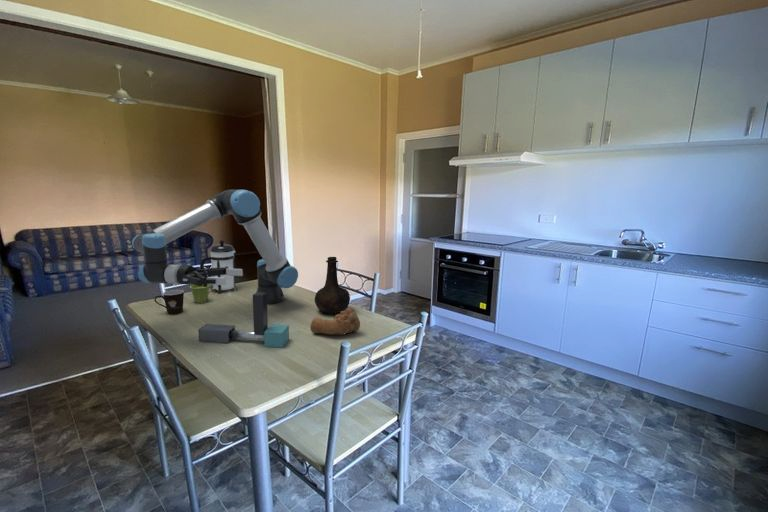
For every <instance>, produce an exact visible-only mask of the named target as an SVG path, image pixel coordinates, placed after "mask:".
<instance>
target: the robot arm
mask: <svg viewBox="0 0 768 512" xmlns="http://www.w3.org/2000/svg"><path fill="white" fill-rule="evenodd" d="M260 207H261V202H260V199H259V197H258V196H257V194H255V193H254V192H253V191H250V190H247V189H235V188H234V189H227V190H224V191H221V192H220V193H218V194H216V195H215V196H212V197H211V198H209V199H207V200H206V203H204V204H202V205H200V206H198V207H196V208H193V209H192V210H189V211H188V212H186V213H184V214H182V215H180V216H178V217H176V218H174V219H172V220H170V221H168V222H166V223H165V224H162V225H160V226H157V227H156V228H154V229H152V230H150V231H148V232H146V233H144V234H143V233H142V234H138V235H135V236H134V237H133V239H132V241H131V246H132V247H133V249H134V250H135V251H136V252H137V253H139V254H143V259H144V263H143V264H141V265H140V266H139V268H138V272H137V277H138V279H139V280H140V281H141V282H143V283H147V284H168V285H169V284H170V285H172V284H173V286H177V285H187V286H188V285H190V286H191V285H197V286H202V284H203V286H204V287H207V284H208V285H210V286H211V285H212V286H213V285H226V279H225V278H221V277H212V276H218V275H230V276H235V277H243V276H244V271H243V270H244V269H243V268H234V269H228V267H227V266H226V267H221V268H212V267H210V268H209V267H207V268H205V267H204V268H202V269H200V268H199V269H198V268H197V269H196V268H195V267H194V266H193V265H190V264H189V265H188V264H187V265H186V264H183V265H182V264H169V263H168V249H167V244H169V243H171V242H172V241H175V240H177V239H178V238H180V237H182V236H184V235H186V234H188V233H190V232H191V231H194V230H195V229H198V228H200V227H201V226H202V225H205V224H207V223H208V222H209V223H210V222H211V221H212V220H215V219H221V218H222V217H225V216H231V215H232V216H233V217H234V219H235V221H236V222H237V224H238V225H241V226H243V227H244V229H245V230H246V231H245V232H246V233H247V234H248V236H249V238H250V239H251V241H252V243H253V244H254V246H255V248H256V250H257V251H258V253H259V255H260V257H262V259H258V261H257V263H256V269H257V270H256V271H257V273H256V274H257V289H256V292H264V293H267V305H272V304H278V303H281V302H283V301H284V299H285V295H284V292H283V289H290V288H292V287H293V286H295V284H296V283H297V281H298V278H299V272H298V269H297V268H296V267H295V266H293V265H291V264H290V261H289V260H288V258H287V257H285V256H283V255H282V254H281V252H280V250H279V248H278V246H277V245H276V242H275V241H274V239H273V237H272V236H271V233H270V232H269V230H268V228H267V227H266V225H265V223H264V221H263V220H262V217H261V216H262V211H261V209H260ZM282 300H283V301H282Z"/></svg>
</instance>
